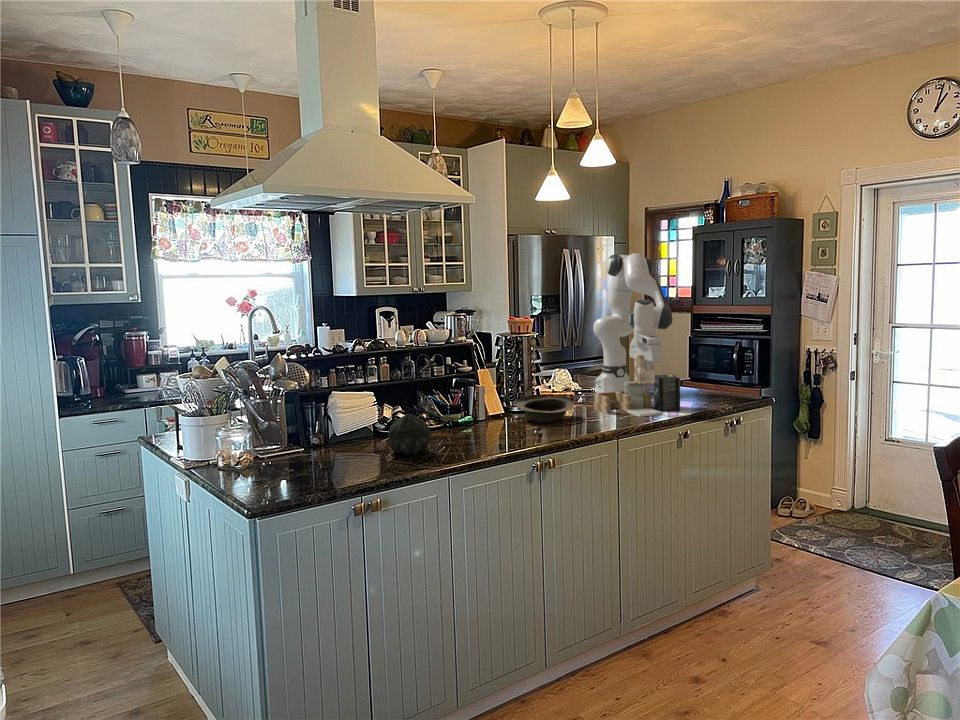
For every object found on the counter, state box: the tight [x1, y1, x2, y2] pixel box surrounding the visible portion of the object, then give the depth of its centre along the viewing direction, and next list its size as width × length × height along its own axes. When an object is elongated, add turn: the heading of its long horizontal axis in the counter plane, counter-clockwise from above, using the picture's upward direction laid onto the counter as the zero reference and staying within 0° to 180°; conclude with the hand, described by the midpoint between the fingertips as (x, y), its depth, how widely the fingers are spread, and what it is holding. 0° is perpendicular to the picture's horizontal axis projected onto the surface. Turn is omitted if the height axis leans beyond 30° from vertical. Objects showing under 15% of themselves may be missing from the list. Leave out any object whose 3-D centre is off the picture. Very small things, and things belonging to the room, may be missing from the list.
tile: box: [626, 407, 664, 418], centre depth 311 cm, size 11×11×1 cm
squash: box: [387, 413, 432, 456], centre depth 254 cm, size 14×15×15 cm
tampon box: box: [653, 374, 681, 412], centre depth 319 cm, size 11×9×15 cm
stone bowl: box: [514, 393, 575, 424], centre depth 305 cm, size 25×25×9 cm
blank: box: [633, 354, 655, 384], centre depth 309 cm, size 4×7×12 cm, turn 108°
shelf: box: [592, 380, 652, 415], centre depth 321 cm, size 13×22×12 cm, turn 107°
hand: (644, 370), depth 309 cm, fingers closed on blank, 4 cm apart
